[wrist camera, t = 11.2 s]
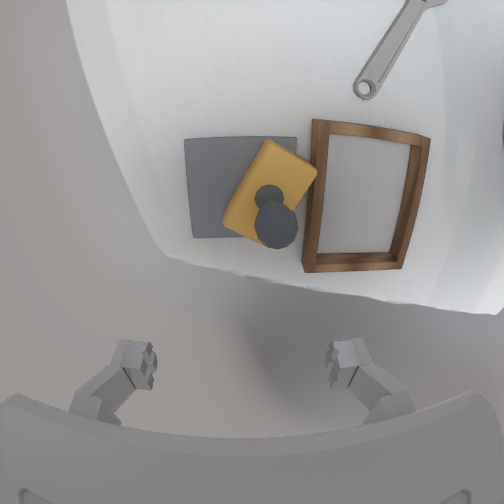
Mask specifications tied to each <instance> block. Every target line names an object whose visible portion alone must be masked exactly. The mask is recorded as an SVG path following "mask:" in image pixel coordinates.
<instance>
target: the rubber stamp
mask: <svg viewBox="0 0 504 504" xmlns="http://www.w3.org/2000/svg"><path fill="white" fill-rule="evenodd" d="M316 176H317V170H316V168H315V167H314V166H313V165H312V164H311V163H310V162H308V161H307V160H305V159H303V158H302V157H300V156H298V155H297V154H295V153H293V152H292V151H290V150H288V149H286V148H285V147H283V146H281V145H279V144H278V143H276V142H274V141H272V140H271V139H267V140H265V141H264V143H263V144H262V146H261V148H260V150H259V151H258V153H257V155H256V156H255V158H254V160H253V161H252V163H251V165H250V167H249V168H248V170H247V172H246V173H245V175H244V177H243V179H242V180H241V182H240V184H239V186H238V187H237V189H236V191H235V193H234V194H233V196H232V198H231V200H230V202H229V203H228V205H227V207H226V209H225V211H224V217H223V224H224V227H226V228H228V229H231V230H233V231H235V232H237V233H239V234H241V235H243V236H245V237H247V238H250V239H252V240H254V241H256V242H258V243H260V244H262V245H264V246H267V247H269V248H274V249H280V248H284V247H287V246H288V245H289V244H290V243H292V242H293V241H294V239H295V237H296V234H297V231H298V224H297V219H296V216H295V214H294V212H293V210H294V209H295V207H296V206H297V204H298V203H299V201H300V200H301V198H302V197H303V195H304V194H305V192H306V191H307V189H308V188H309V186H310V185H311V183H312V182H313V180H314V179H315V177H316Z"/></svg>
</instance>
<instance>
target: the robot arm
mask: <svg viewBox="0 0 504 504" xmlns="http://www.w3.org/2000/svg"><path fill="white" fill-rule="evenodd" d="M328 346H329V350H328V351H327V352H326V355H325V366H326V370H327V371H328V372H329V373H330V375H329V377H328V379H329V383H330V387H331V389H339V388H347V387H348V389H349V390H350V391H351V392H352V393H353V394H354V395H355V396H356V397H357V398H358V400H359V401H360V402H361V403H362V404H363V405H364V406H365V407H366V408H367V409H368V410H369V411H370V413H369V414H368V416H367V417H366V418H365V419H364V421H363V424H364V425H362V426H357V427H352V428H347V429H341V430H335V431H329V432H322V433H315V434H306V435H296V436H284V437H269V438H268V437H267V438H213V437H197V436H185V435H175V434H167V433H159V432H152V431H146V430H140V429H134V428H129V427H124V426H121V421H120V419H119V418H118V417H117V416H116V415H115V414H114V413H115V412H116V411H117V410H118V408H119V407H120V406H121V405H122V404H123V403H124V402H125V401H126V400H127V398H128V397H129V396H130V395H131V394H132V393H133V392H134V391H135V389H143V390H152V386H153V382H154V378H153V375H152V374H154V373H155V372H156V369H157V356H156V354H155V352H153V351H152V348H153V346H152V344H151V342H141V341H133V340H124V339H121V340H120V341H119V342H118V345H117V347H116V350H115V353H114V356H113V358H112V361H111V364H110V366H108V365H107V366H106V367H104V368H103V369H102V370H101V371H100V372H98V373H97V374H96V375H95V376H93V377H92V378H91V379H90V380H89V381H87V382H86V383H85V384H84V385H82V386H81V387H80V388H79V389H78V390H76V391H75V394H74V397H73V400H72V402H71V405H70V408H69V411H68V412H67V411H64V410H61V409H58V408H55V407H53V406H50V405H47V404H44V403H42V402H39V401H37V400H34V399H32V398H29V397H27V396H25V395H23V394H20V393H16V394H13V395H11V396H10V397H8V398H7V399H5V400H4V401H2V402H1V403H0V504H504V435H503V431H502V428H501V425H500V422H499V419H498V416H497V414H496V411H495V409H494V407H493V405H492V404H491V402H489V401H488V400H487V399H485V398H484V397H482V396H481V395H479V394H477V393H476V392H474V391H468V392H465V393H463V394H460V395H458V396H456V397H454V398H451V399H448V400H446V401H443V402H441V403H438V404H435V405H433V406H430V407H427V408H424V409H421V410H418V411H416V408H415V405H414V403H413V400H412V397H411V395H410V392H409V390H408V389H407V388H406V387H404V386H403V385H402V384H401V383H399V382H398V381H397V380H395V379H394V378H393V377H392V376H390V375H389V374H388V373H386V372H385V371H384V370H383V369H381V368H380V367H378V366H377V365H376V364H372V362H371V359H370V356H369V354H368V351H367V349H366V346H365V343H364V341H363V339H362V338H361V337H359V338H349V339H340V340H331V341H330V342H329V345H328Z"/></svg>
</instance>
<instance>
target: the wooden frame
mask: <svg viewBox="0 0 504 504" xmlns="http://www.w3.org/2000/svg"><path fill="white" fill-rule="evenodd" d="M329 133H334V134H344V135H353V136H362V137H369V138H376V139H383V140H389V141H395V142H401V143H406V144H411V150H410V157H409V164H408V170H407V176H406V182H405V187H404V193H403V198H402V203H401V207H400V212H399V217H398V221H397V225H396V229H395V233H394V237H393V241H392V245H391V249H390V252H389V253H342V254H317V249H318V242H319V234H320V226H321V218H322V209H323V200H324V190H325V180H326V169H327V156H328V142H329ZM430 141H431V139H430V138H427V137H424V136H421V135H418V134H413V133H408V132H404V131H399V130H393V129H388V128H382V127H376V126H370V125H363V124H356V123H348V122H339V121H329V120H318V119H312V141H311V158H310V163H311V164H312V165H313V166H314V167H315V168H316V170H317V176H316V177H315V179H314V180H313V182H312V183H311V185H310V186H309V188H308V200H307V212H306V223H305V233H304V243H303V252H302V261H301V262H302V265H303V268H304V272H305V273H318V272H345V271H369V270H390V269H401V268H402V265H403V262H404V259H405V256H406V253H407V249H408V246H409V242H410V239H411V235H412V232H413V228H414V224H415V220H416V216H417V212H418V208H419V203H420V199H421V194H422V189H423V184H424V179H425V174H426V168H427V162H428V155H429V149H430Z"/></svg>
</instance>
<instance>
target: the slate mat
mask: <svg viewBox="0 0 504 504" xmlns="http://www.w3.org/2000/svg"><path fill="white" fill-rule="evenodd" d="M267 139H271V140H272V141H274V142H276V143H278V144H279V145H281V146H283V147H285V148H286V149H288V150H290V151H292V152H293V153H295V154H296V142H297V138H296V137H265V136H249V137H214V138H196V139H185V140H184V146H185V160H186V173H187V185H188V196H189V206H190V216H191V225H192V234H193V238H217V237H245V236H243V235H241V234H239V233H237V232H235V231H233V230H231V229H228V228H226V227H224V224H223V217H224V211H225V209H226V207H227V205H228V203H229V202H230V200H231V198H232V196H233V194H234V193H235V191H236V189H237V187H238V186H239V184H240V182H241V180H242V179H243V177H244V175H245V173H246V172H247V170H248V168H249V167H250V165H251V163H252V161H253V160H254V158H255V156H256V155H257V153H258V151H259V150H260V148H261V146H262V144H263V143H264V141H265V140H267Z"/></svg>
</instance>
